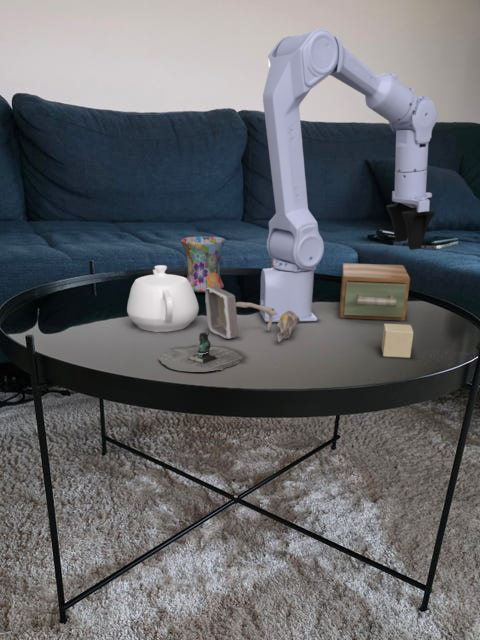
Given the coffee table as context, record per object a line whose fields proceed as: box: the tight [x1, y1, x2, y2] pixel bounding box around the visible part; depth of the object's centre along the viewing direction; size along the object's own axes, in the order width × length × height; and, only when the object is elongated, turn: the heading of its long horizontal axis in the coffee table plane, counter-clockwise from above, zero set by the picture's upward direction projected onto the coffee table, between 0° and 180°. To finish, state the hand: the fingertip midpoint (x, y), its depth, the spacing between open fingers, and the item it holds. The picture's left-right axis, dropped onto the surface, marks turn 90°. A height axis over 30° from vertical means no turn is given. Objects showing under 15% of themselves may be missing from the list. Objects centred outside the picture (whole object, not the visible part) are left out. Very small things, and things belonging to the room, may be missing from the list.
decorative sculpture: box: [204, 287, 301, 343], centre depth 97 cm, size 16×10×7 cm, turn 94°
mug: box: [180, 235, 226, 294], centre depth 127 cm, size 12×9×11 cm
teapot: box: [126, 264, 200, 333], centre depth 102 cm, size 20×12×10 cm, turn 14°
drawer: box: [344, 281, 407, 317], centre depth 108 cm, size 16×10×6 cm, turn 171°
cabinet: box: [339, 262, 411, 321], centre depth 112 cm, size 13×12×8 cm
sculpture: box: [158, 331, 243, 371], centre depth 88 cm, size 12×9×8 cm
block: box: [381, 323, 414, 359], centre depth 90 cm, size 4×4×4 cm
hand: (408, 244), depth 117 cm, fingers open, 7 cm apart
